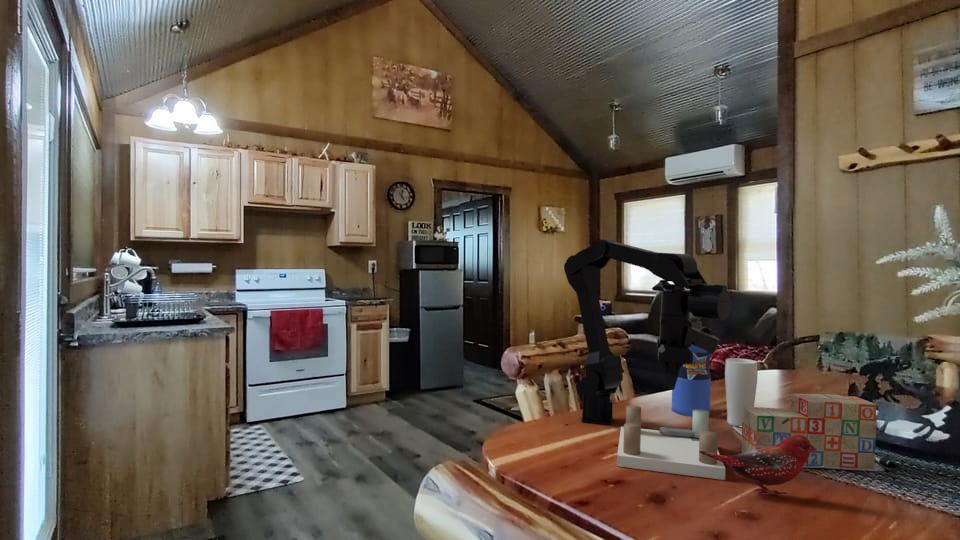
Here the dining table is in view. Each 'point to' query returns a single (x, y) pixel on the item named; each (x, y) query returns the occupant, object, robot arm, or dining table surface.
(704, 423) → the hinged leg
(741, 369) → the drinking glass
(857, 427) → the stack of blocks
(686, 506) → the dining table surface
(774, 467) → the decorative bird figurine
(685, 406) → the water bottle
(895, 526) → the dining table surface
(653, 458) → the stool seat
